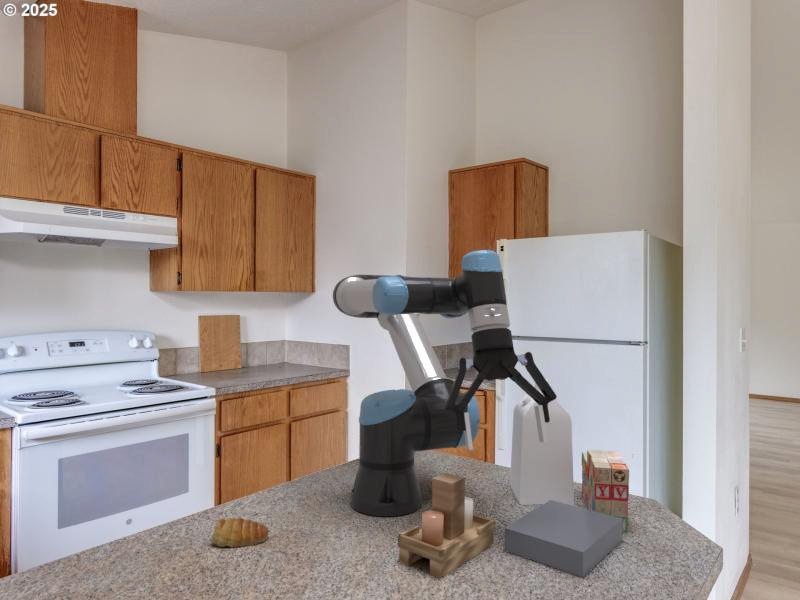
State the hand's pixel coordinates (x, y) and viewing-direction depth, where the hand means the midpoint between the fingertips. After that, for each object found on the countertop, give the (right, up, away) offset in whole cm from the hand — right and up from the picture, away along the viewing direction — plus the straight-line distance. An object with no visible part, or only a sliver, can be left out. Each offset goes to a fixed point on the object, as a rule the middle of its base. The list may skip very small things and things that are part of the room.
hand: (507, 446), depth 102 cm
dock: (+10, -17, -1) cm, 20 cm away
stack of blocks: (+23, -18, +15) cm, 33 cm away
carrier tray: (-11, -17, -5) cm, 21 cm away
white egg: (-8, -14, -1) cm, 16 cm away
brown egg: (-14, -14, -8) cm, 21 cm away
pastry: (-48, -17, 0) cm, 51 cm away
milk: (+12, -17, +24) cm, 32 cm away
